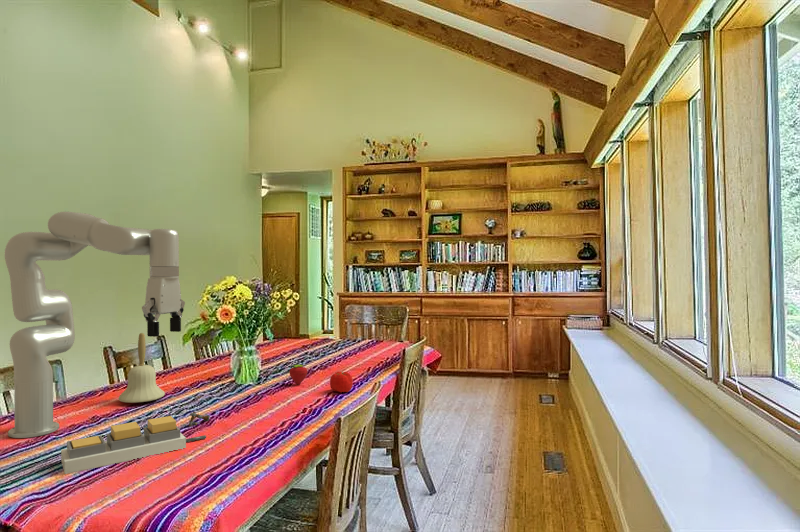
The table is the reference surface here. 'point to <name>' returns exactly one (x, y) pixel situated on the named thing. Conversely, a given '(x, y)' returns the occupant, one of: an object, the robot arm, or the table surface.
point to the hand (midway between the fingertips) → (164, 333)
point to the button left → (85, 442)
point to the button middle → (125, 431)
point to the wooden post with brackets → (206, 417)
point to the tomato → (341, 382)
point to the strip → (122, 449)
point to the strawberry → (298, 373)
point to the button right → (161, 424)
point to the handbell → (141, 380)
